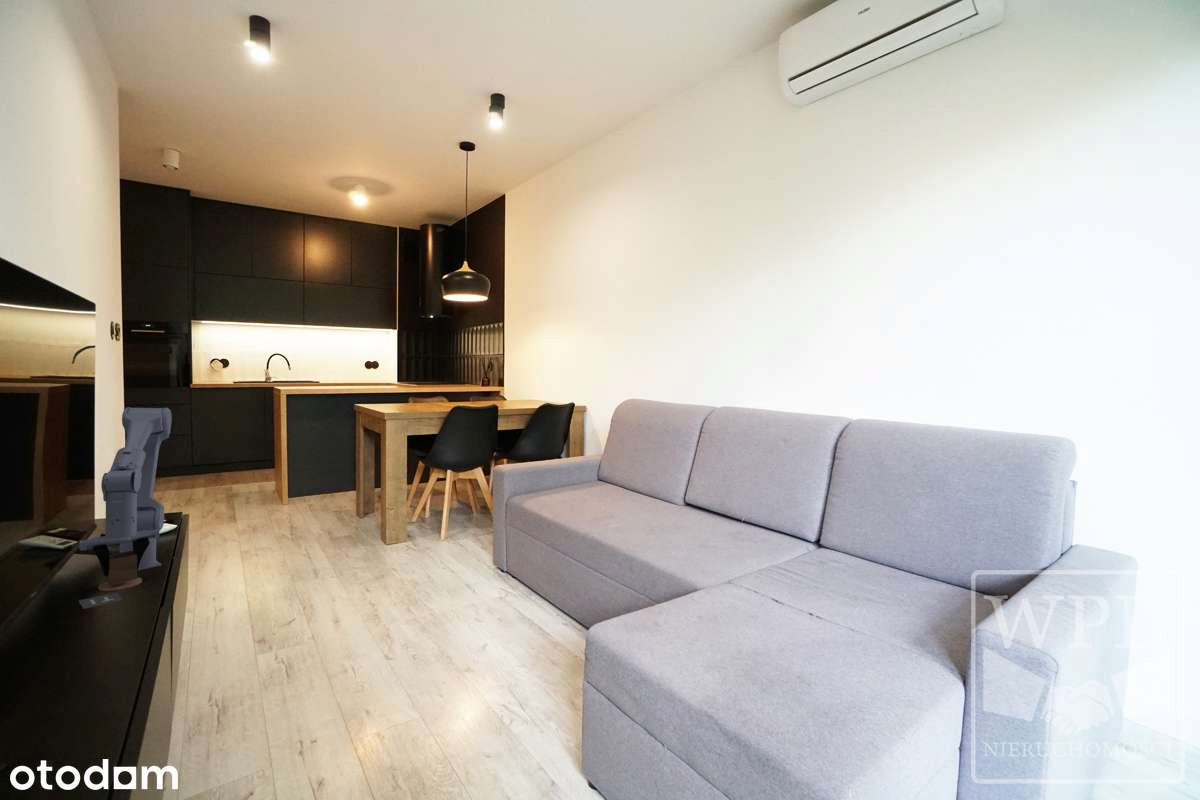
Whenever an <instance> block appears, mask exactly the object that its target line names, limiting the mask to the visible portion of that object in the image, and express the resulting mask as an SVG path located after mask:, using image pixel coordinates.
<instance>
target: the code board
mask: <svg viewBox="0 0 1200 800" xmlns="http://www.w3.org/2000/svg"><path fill="white" fill-rule="evenodd" d="M122 600H123V598H122V596H120V595H119V594H118V592H115V591H114V592H112V593H108V594H102V595H99V596H98V595H97V596H93V597H88V598H84V599H80V600H78V603H79V605H81V607H82V609H84V610H85V609H88V608H93V607H97V606H101V605H106V604H110V603H115V602H121V601H122Z"/></svg>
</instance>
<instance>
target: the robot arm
mask: <svg viewBox="0 0 1200 800" xmlns="http://www.w3.org/2000/svg"><path fill="white" fill-rule="evenodd" d="M172 421H173V420H172V411H171V409H170V408H168V407H158V408H157V407H129V406H128V407H125V409H124V410H123V411H122V415H121V424H122V427H123V429H124V432H125V434H126V439H125V444H124V447H122V448H119V449H118V450H117V451H116V454H115V456H114V458H113V462H112V464H111V467H110V470H109V471H107V472H104V473H103V475H102V478H101V484H100V485H101V491H102V497H103V498H102V500H103V502H105V528H104V529H105V530H104V531H105V532H104V533H105V535H104V536H98V537H94V538H88V539H84V540H79V550H80V551H87V550H88V549H91V550H92V552H93V553H94V554H95V556H96V557H97V559H98V562H99V564H100V566H101V569H102V575H103V576H104V577H105V576H108V573H109V566H108V560H109V554H110V549H109V547H108V546H113V545H117V544H118V545H119V553H121V552H127V551H133V552H134V553H135V554H136V555H137V571H142V570H147V569H153V568H155V567H157V568H158V567H161V566H162V563H160V562H159V561H158V560H157V539H159V538H160V532H161V530H162V529H163V527H164V524H165V507H164V504H163V503H162V502H160V500H157V499H155V498H153V497H154V490H155V483H156V474H157V466H158V460H159V454H160V453H159V451H160V447H161V445H162V441H165V440H167V439H169V437H170V434H171V428H172ZM137 510H138V511H137Z"/></svg>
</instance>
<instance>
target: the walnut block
mask: <svg viewBox="0 0 1200 800" xmlns="http://www.w3.org/2000/svg"><path fill="white" fill-rule="evenodd" d="M108 566H109V573H108V576H104V578H105V582H108V583H109V584H115V583H120V582H124V581H129V580H134V579H137V577H138V570H137V555H136V554H135V553H134V552H133V551H127V552H121V553H120V552H116V553H111V554H110V553H109V560H108Z"/></svg>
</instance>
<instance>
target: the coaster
mask: <svg viewBox="0 0 1200 800" xmlns="http://www.w3.org/2000/svg"><path fill="white" fill-rule="evenodd" d="M142 582H143V579H142V577H138V576H137V579H134V580H129V581H124V582H120V583H115V584H109V583H108V582H107V581H104V582H102V583H101V584H99V585H98V590H99V591H102V592H108V591H109V592H110V591H111V592H112V591H114V592H115V591H120V590H125V589H129V588H132V587H135V586H138V585H140V584H142Z"/></svg>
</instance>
